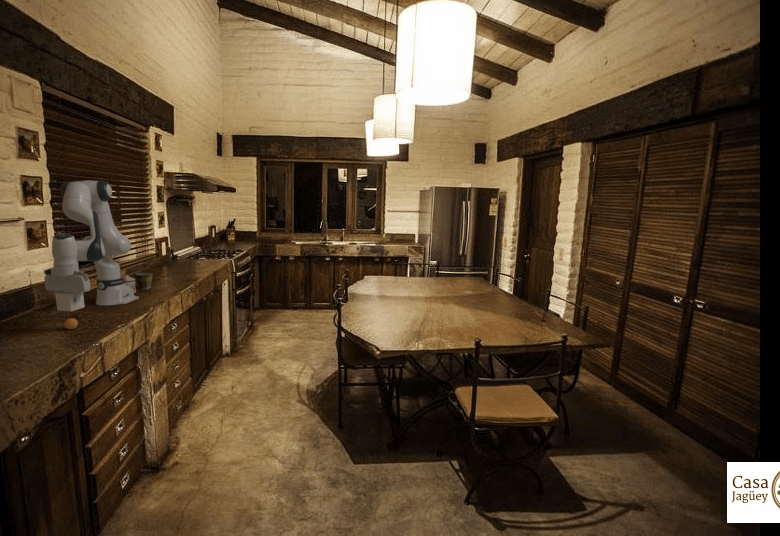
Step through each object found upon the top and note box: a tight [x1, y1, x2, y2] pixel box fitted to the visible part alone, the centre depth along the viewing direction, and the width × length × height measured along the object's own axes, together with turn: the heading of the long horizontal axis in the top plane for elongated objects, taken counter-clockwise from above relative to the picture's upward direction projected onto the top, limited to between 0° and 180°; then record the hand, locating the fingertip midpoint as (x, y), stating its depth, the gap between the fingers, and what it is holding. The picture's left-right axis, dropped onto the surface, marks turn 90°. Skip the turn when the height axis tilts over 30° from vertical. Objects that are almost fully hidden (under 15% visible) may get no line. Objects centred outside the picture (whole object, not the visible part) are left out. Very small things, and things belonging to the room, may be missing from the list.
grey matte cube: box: [54, 291, 85, 312], centre depth 186 cm, size 7×7×8 cm
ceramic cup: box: [135, 272, 154, 290], centre depth 276 cm, size 13×10×10 cm
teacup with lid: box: [123, 274, 137, 294], centre depth 261 cm, size 12×9×12 cm
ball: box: [63, 317, 79, 330], centre depth 187 cm, size 5×5×5 cm
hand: (69, 300), depth 186 cm, fingers closed on grey matte cube, 7 cm apart
